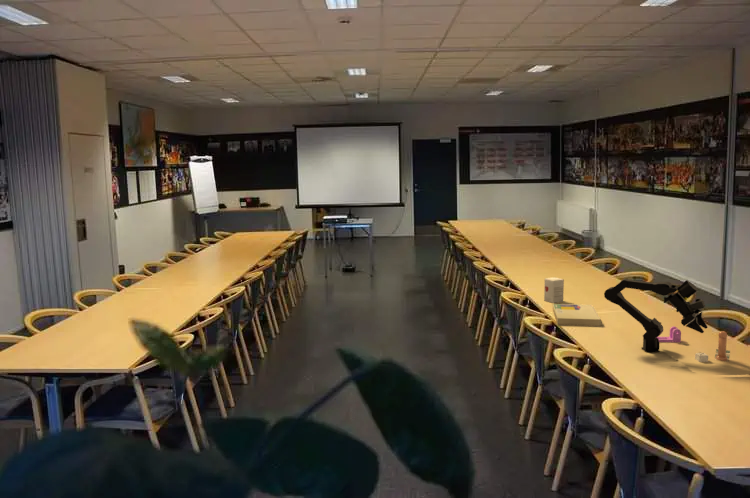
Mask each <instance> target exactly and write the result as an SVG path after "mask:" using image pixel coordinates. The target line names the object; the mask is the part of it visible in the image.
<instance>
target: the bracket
mask: <svg viewBox="0 0 750 498" xmlns="http://www.w3.org/2000/svg"><path fill="white" fill-rule="evenodd" d="M657 338H658V339H659V342H660V343H681V342H682V341H681V339H682V331H681V329H679V328H678V327H676V326H671V327H670V328H669V336H658V337H657Z"/></svg>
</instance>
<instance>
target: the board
mask: <svg viewBox="0 0 750 498" xmlns="http://www.w3.org/2000/svg"><path fill="white" fill-rule="evenodd" d="M716 355H718V348H716V349H715V355H714V361H718V360H717V359H716ZM730 355H731V350H727V349H726V356H727V360H726V361H725V362H729V361H730Z"/></svg>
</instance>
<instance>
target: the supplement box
mask: <svg viewBox="0 0 750 498" xmlns="http://www.w3.org/2000/svg"><path fill="white" fill-rule="evenodd" d="M564 284H565V280H564V278H560V277H556V276H553V277H546V278H544V292H543V293H544V295H543V296H544V297H543V299H544V302H549V303H551V304H558V303H562V302H564V294H565V293H564V289H565V288H564V287H565V285H564Z"/></svg>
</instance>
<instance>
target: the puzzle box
mask: <svg viewBox="0 0 750 498" xmlns="http://www.w3.org/2000/svg"><path fill="white" fill-rule="evenodd" d="M552 314H553V316H554V319H555V322H556V325H558V326H581V327H582V326H583V327H584V326H585V327H601V326H602V319H601V317H600V315H599V313H598V312H597V310H596V308H595V306H593V304H582V303H580V304H577V303H575V304H574V303H573V304H572V303H560V304H559V303H552Z"/></svg>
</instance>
